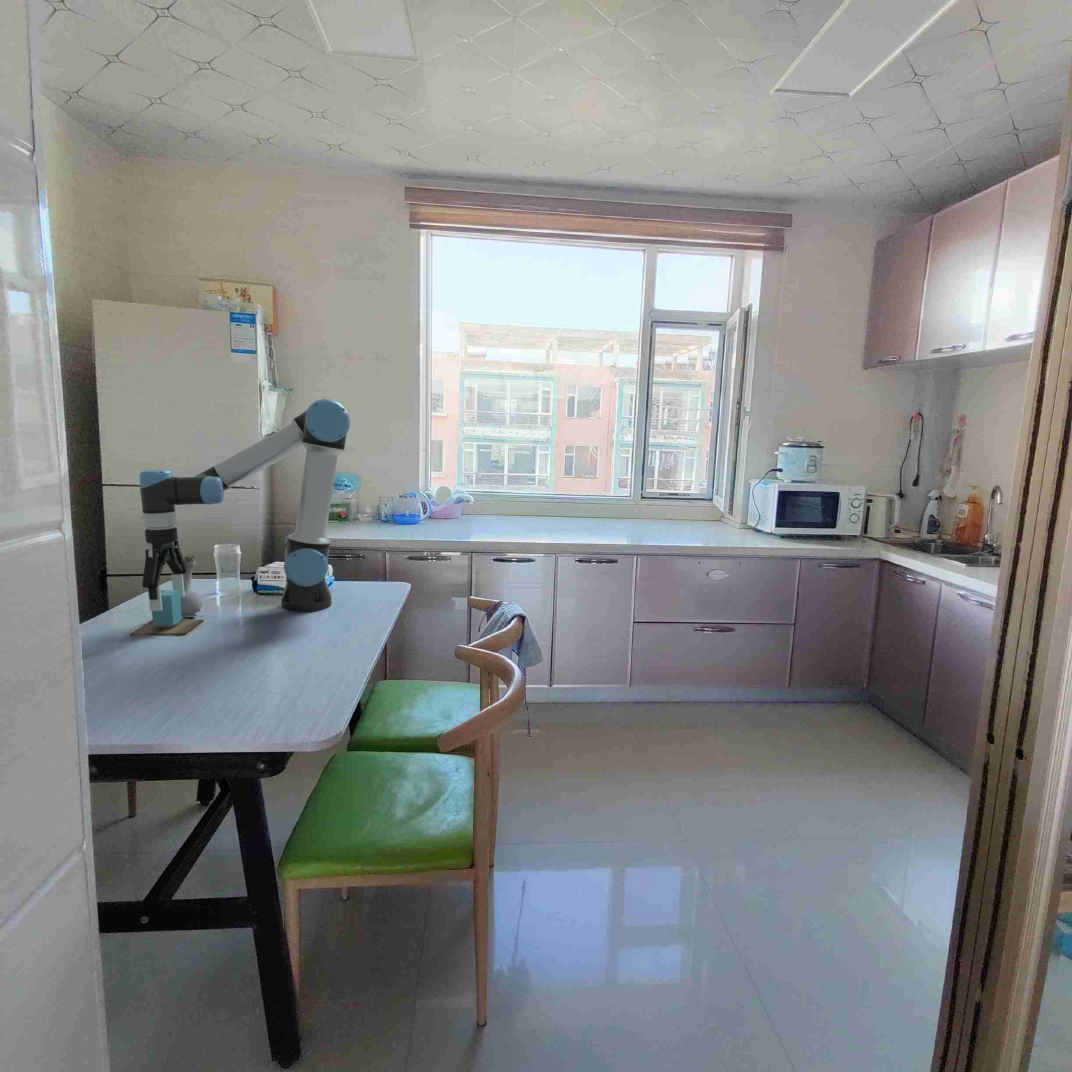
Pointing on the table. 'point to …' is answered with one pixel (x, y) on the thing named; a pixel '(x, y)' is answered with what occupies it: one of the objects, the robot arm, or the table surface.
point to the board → (178, 629)
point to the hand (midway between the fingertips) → (168, 603)
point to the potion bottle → (189, 591)
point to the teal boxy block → (168, 609)
